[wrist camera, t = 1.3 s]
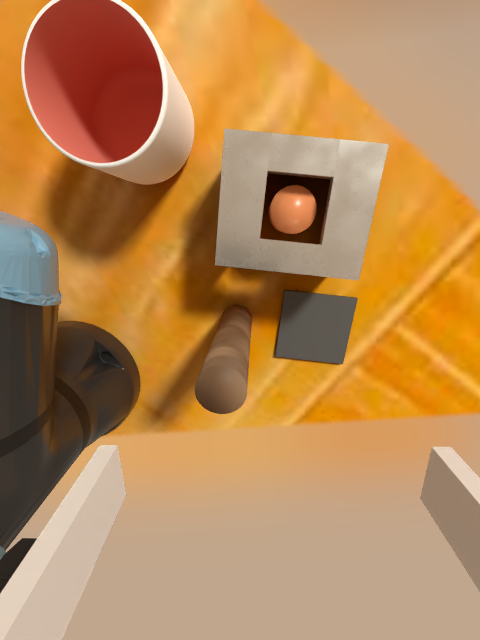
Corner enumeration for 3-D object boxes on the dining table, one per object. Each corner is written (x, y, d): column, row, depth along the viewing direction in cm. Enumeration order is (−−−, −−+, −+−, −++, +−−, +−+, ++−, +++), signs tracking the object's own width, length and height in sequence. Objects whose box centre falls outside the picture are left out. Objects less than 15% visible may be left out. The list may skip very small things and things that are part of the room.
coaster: (275, 355, 35) (275, 356, 35) (284, 290, 33) (285, 290, 33) (341, 362, 35) (342, 364, 35) (356, 297, 33) (357, 298, 32)
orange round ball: (266, 230, 29) (267, 231, 25) (271, 189, 28) (273, 182, 24) (304, 234, 29) (312, 236, 25) (310, 193, 28) (320, 187, 24)
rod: (221, 331, 35) (193, 410, 20) (223, 303, 34) (196, 364, 19) (250, 334, 35) (244, 416, 20) (253, 306, 34) (249, 370, 19)
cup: (213, 103, 28) (191, 39, 19) (174, 203, 31) (137, 193, 22) (116, 49, 27) (40, -47, 18) (85, 157, 30) (5, 125, 21)
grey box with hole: (224, 256, 32) (214, 265, 25) (233, 154, 29) (224, 128, 22) (334, 267, 32) (358, 280, 24) (354, 165, 29) (388, 143, 21)
